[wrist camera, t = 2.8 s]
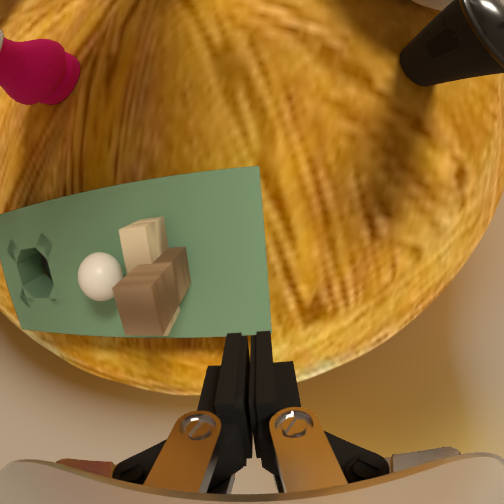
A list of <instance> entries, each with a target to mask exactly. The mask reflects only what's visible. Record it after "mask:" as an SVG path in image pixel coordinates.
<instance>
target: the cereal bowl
mask: <svg viewBox="0 0 504 504" xmlns="http://www.w3.org/2000/svg"><path fill="white" fill-rule="evenodd" d="M412 1H414V2H416V3H417V4H421V5H422V6H425V7H428V8H432V9H435V10H439V11H442V10H443V9H444V8H445V7H446V6H447V5H448V4H450V3H451V2H452V1H453V0H412Z"/></svg>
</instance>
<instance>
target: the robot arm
mask: <svg viewBox="0 0 504 504" xmlns="http://www.w3.org/2000/svg"><path fill="white" fill-rule="evenodd" d="M253 437H254V444H255V450H256V457H257V458H261V460H262V467H263V468H265V469H266V470H268V471H269V472H271V473H272V474H273V476H274V481H275V485H276V489H277V493H274V494H250V495H249V494H248V495H247V494H246V495H245V494H241V495H240V494H239V495H238V494H231V491H232V487H233V483H234V480H235V473H236V472H237V471H239V470H240V469H241V468H243V466H246V459H247V458H252V443H253V441H252V440H253ZM0 504H504V459H503V458H502V457H500V456H498V455H496V454H492V453H484V452H480V453H466V454H461V453H460V452H459V451H458V450H457V449H455V448H452V447H442V448H436V449H431V450H425V451H418V452H411V453H402V454H393V455H392V457H389V458H383V457H382V456H380V455H378V454H376V453H374V452H371V451H369V450H366V449H364V448H361V447H359V446H356V445H354V444H352V443H350V442H347V441H345V440H343V439H341V438H338V437H336V436H334V435H332V434H330V433H328V432H326V431H324V430H323V429H322V426H321V424H320V422H319V420H318V418H317V416H316V415H315V414H314V413H313V412H312V411H310V410H308V409H305V408H301V404H300V398H299V392H298V387H297V381H296V375H295V370H294V364H293V361H288V362H276V363H273V357H272V345H271V333H270V331H257V332H256V335H251V352H250V357H249V348H248V339H247V336H242V333H241V332H240V333H227V336H226V341H225V347H224V352H223V358H222V363H221V366H208V368H207V371H206V376H205V380H204V384H203V388H202V392H201V397H200V401H199V405H198V409H197V411H193V412H189V413H187V414H184V415H183V416H181V417H180V418H179V419H178V420H177V422H176V423H175V425H174V427H173V429H172V431H171V433H170V435H169V437H168V439H166V440H164V441H162V442H161V443H159V444H157V445H155V446H153V447H151V448H149V449H147V450H145V451H143V452H141V453H138V454H136V455H134V456H132V457H130V458H128V459H126V460H124V461H122V462H120V463H119V464H118V465H114V464H113V462H102V461H87V460H76V459H61V460H59V461H57V462H56V463H54V462H49V461H42V460H30V459H24V460H15V461H12V462H10V463H8V464H7V465H6V466H4V467H3V468H2V469H1V470H0Z"/></svg>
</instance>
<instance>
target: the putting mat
mask: <svg viewBox="0 0 504 504" xmlns="http://www.w3.org/2000/svg"><path fill="white" fill-rule="evenodd" d="M163 216H164V220H165V227H166V233H167V240H168V246H169V248H173V247H184V246H186V252H187V258H188V265H189V271H190V277H191V284H190V286H189V288H188V290H187V292H186V293H185V295H184V297H183V299H182V301H181V303H180V304H179V307H180V313H179V315H178V317H177V319H176V321H175V323H174V324H173V326H172V328H171V330H170V332H169V334H168V336H135V335H125V332H124V329H123V325H122V322H121V319H120V315H119V312H118V308H117V305H116V301H115V297H113V298H111V299H109V300H106V301H96V300H93V299H91V298H89V297H88V296H86V295H85V294H84V292H83V291H82V290H81V288H80V286H79V283H78V270H79V267H80V264H81V263H82V261H83V260H84V259H85V258H86V257H87V256H88V255H90V254H92V253H96V252H104V253H108V254H110V255H112V256H113V257H114V258H116V259H117V261H118V262H119V263H120V265H121V267H122V270H123V278H124V277H125V276H126V275H127V271H126V266H125V261H124V256H123V251H122V246H121V241H120V235H119V229H121V228H123V227H125V226H127V225H130V224H132V223H134V222H136V221H138V220H140V219H147V218H155V217H163ZM40 253H41V256H40ZM0 260H1V264H2V268H3V272H4V276H5V279H6V283H7V286H8V289H9V293H10V296H11V299H12V302H13V305H14V308H15V311H16V313H17V316H18V319H19V321H20V324H21V327H22V329H25V330H33V331H42V332H52V333H62V334H75V335H89V336H107V337H136V338H195V337H225V336H227V333H240V332H241V333H242V336H244V335H256V332H257V331H270V333H271V334H272V329H271V314H270V299H269V285H268V271H267V258H266V245H265V232H264V219H263V207H262V195H261V183H260V171H259V166H252V167H241V168H231V169H221V170H212V171H204V172H196V173H188V174H181V175H174V176H167V177H160V178H154V179H148V180H142V181H136V182H131V183H125V184H120V185H115V186H110V187H105V188H100V189H95V190H91V191H86V192H82V193H77V194H73V195H69V196H64V197H60V198H56V199H52V200H49V201H45V202H41V203H37V204H34V205H30V206H27V207H23V208H20V209H16V210H13V211H10V212H6V213H3V214H0ZM43 268H44V269H43ZM44 270H45V272H46V273H47V275H48V276H49V277H50V278H51V279H52V280H53V281H52V280H51V279H50V278H49V277H48V276H47V275H46V274H45V272H44Z"/></svg>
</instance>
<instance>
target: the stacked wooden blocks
mask: <svg viewBox="0 0 504 504" xmlns="http://www.w3.org/2000/svg"><path fill="white" fill-rule="evenodd" d="M119 235H120V241H121V246H122V251H123V256H124V261H125V266H126V271H127V275H126V276H125V277H124V278H123V279H122V280H120V281H119V282H118V283H117V284H116V285H115V286H114V287H113V288H112V290H113V294H114V297H115V301H116V305H117V308H118V312H119V315H120V319H121V322H122V325H123V329H124V332H125V335H135V336H168V334H169V332H170V330H171V328H172V326H173V324H174V323H175V321H176V319H177V317H178V315H179V313H180V307H179V304H180V303H181V301H182V299H183V297H184V295H185V293H186V292H187V290H188V288H189V286H190V284H191V277H190V271H189V265H188V258H187V252H186V246H184V247H173V248H169V246H168V240H167V233H166V227H165V220H164V216H163V217H155V218H147V219H140V220H138V221H136V222H134V223H132V224H130V225H127V226H125V227H123V228H121V229H119Z"/></svg>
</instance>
